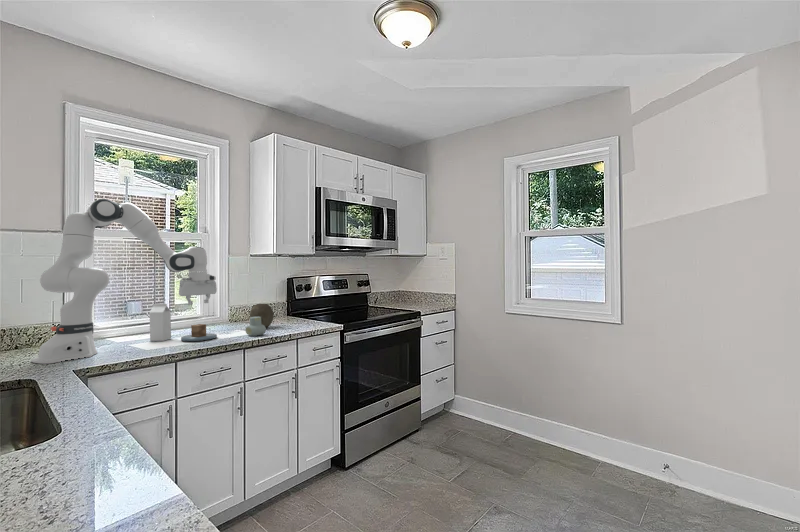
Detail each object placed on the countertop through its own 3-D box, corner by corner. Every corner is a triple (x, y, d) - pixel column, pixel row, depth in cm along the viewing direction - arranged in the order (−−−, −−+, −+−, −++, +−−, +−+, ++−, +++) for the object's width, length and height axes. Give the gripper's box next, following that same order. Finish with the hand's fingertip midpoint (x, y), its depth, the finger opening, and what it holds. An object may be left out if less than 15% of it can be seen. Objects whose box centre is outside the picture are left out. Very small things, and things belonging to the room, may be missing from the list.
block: (198, 337, 220) (197, 325, 220) (191, 336, 222) (191, 325, 222) (206, 335, 224) (206, 324, 224) (199, 335, 226) (199, 323, 226)
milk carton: (163, 341, 219) (162, 304, 219) (150, 341, 220) (149, 304, 219) (171, 338, 227) (170, 303, 226) (158, 338, 227) (157, 303, 226)
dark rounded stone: (279, 327, 260) (278, 302, 260) (262, 330, 247) (262, 305, 247) (261, 325, 266) (260, 302, 266) (244, 329, 253) (243, 304, 253)
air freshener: (268, 335, 232) (267, 317, 232) (254, 337, 226) (253, 318, 225) (257, 333, 239) (257, 315, 239) (243, 335, 233) (243, 317, 233)
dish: (196, 343, 212) (196, 340, 212) (173, 341, 219) (173, 337, 219) (223, 337, 227) (223, 334, 227) (201, 335, 235) (201, 332, 235)
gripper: (184, 278, 212) (184, 305, 212) (218, 276, 230) (218, 302, 230) (175, 278, 214) (176, 305, 214) (210, 276, 233) (210, 302, 233)
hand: (198, 303), depth 222 cm, fingers open, 8 cm apart
